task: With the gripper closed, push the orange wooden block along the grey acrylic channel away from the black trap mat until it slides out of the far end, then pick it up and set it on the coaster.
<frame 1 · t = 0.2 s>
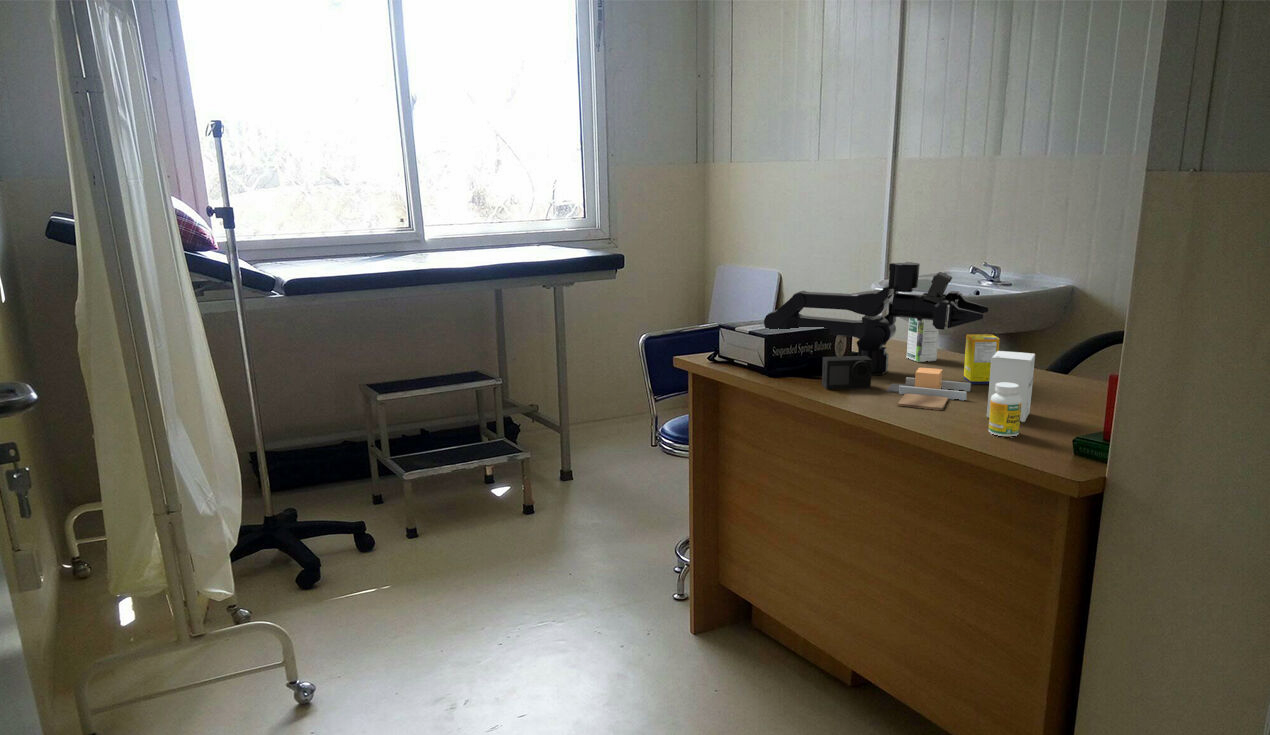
hand: (986, 313, 189), 16 cm above the table, tool horizontal, fingers open, 9 cm apart
coaster: (922, 403, 177), on the table
syrup box: (921, 360, 217), on the table
digital camera: (846, 388, 191), on the table
supplement box: (979, 382, 194), on the table
trap mat: (900, 389, 189), on the table
supplement bottle: (1003, 434, 156), on the table
channel: (934, 392, 185), on the table
block: (927, 392, 186), on the table
supplement box 2: (1008, 416, 167), on the table
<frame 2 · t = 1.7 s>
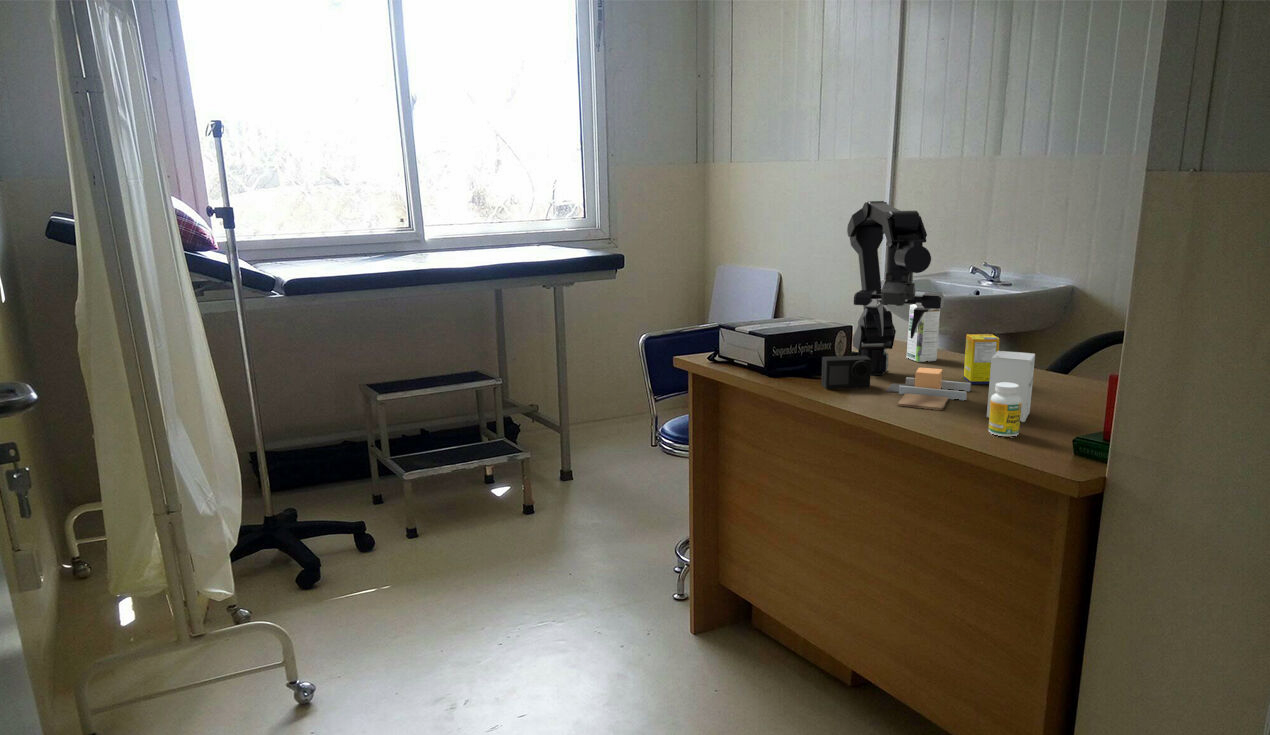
hand: (896, 337, 187), 12 cm above the table, tool pointing down, fingers open, 6 cm apart
nothing on the table moved.
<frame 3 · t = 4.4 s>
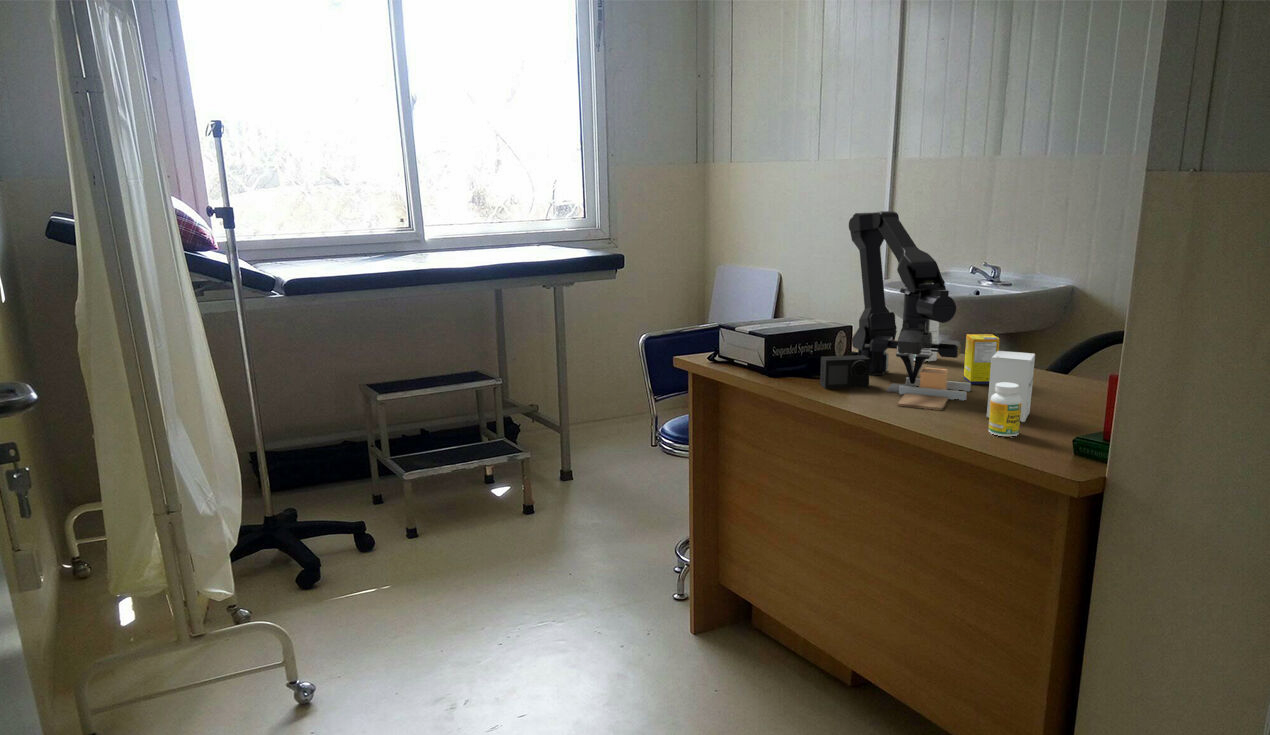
hand: (912, 383, 187), 2 cm above the table, tool pointing down, fingers closed
block: (932, 392, 185), on the table, touching gripper
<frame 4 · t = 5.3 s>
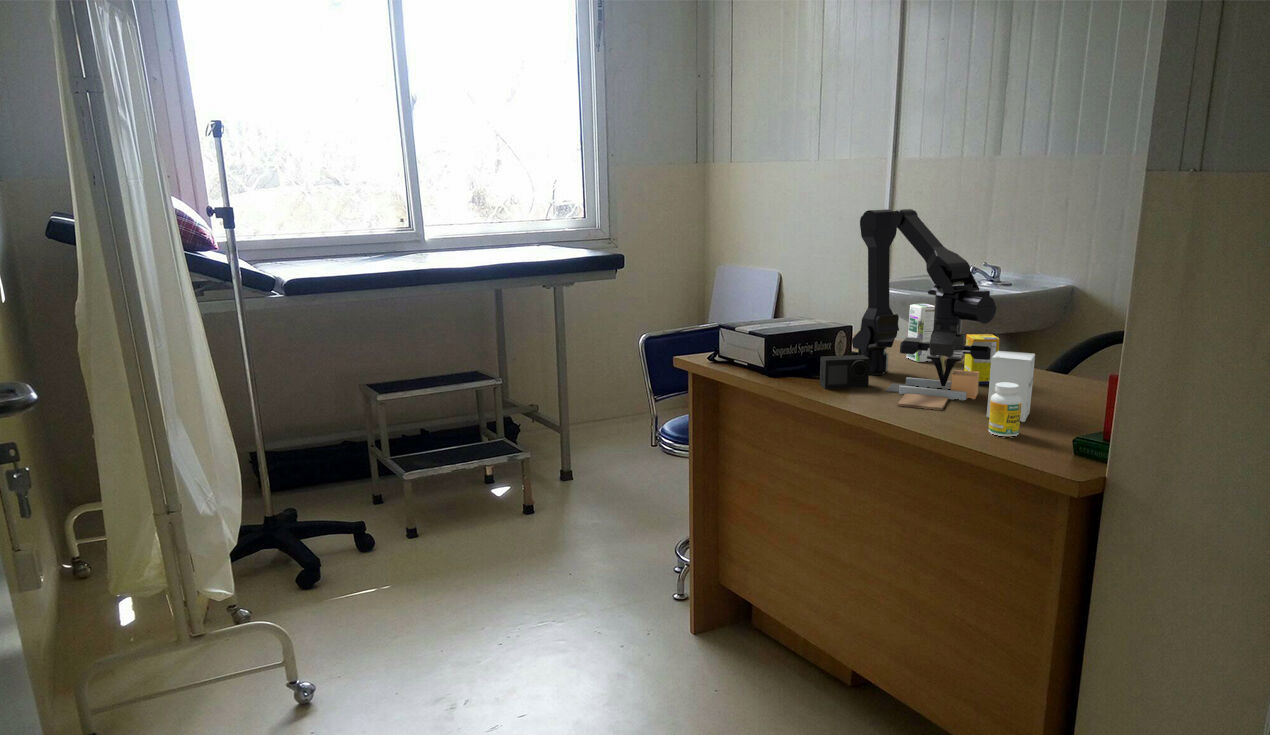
hand: (943, 386, 184), 2 cm above the table, tool pointing down, fingers closed
block: (964, 395, 182), on the table, touching gripper
everything else where it was.
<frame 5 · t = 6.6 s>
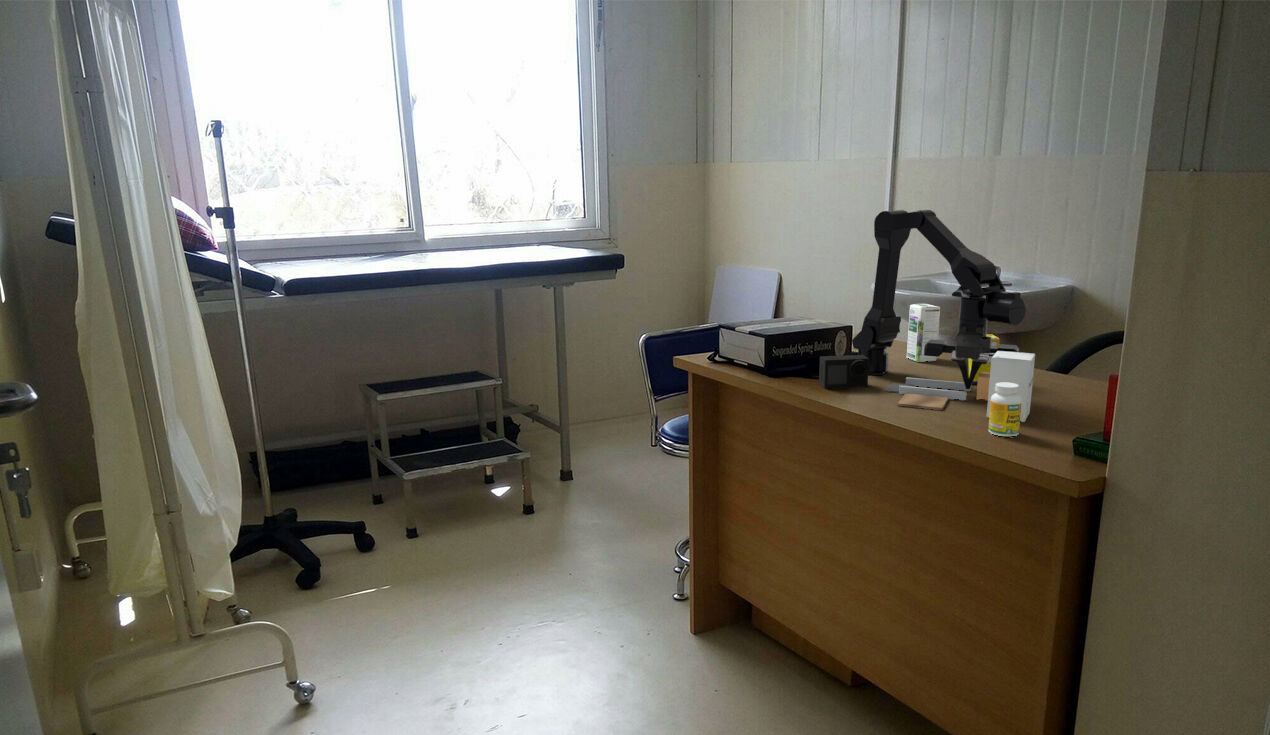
hand: (967, 388, 182), 2 cm above the table, tool pointing down, fingers closed
block: (989, 397, 180), on the table, touching gripper
everything else where it was.
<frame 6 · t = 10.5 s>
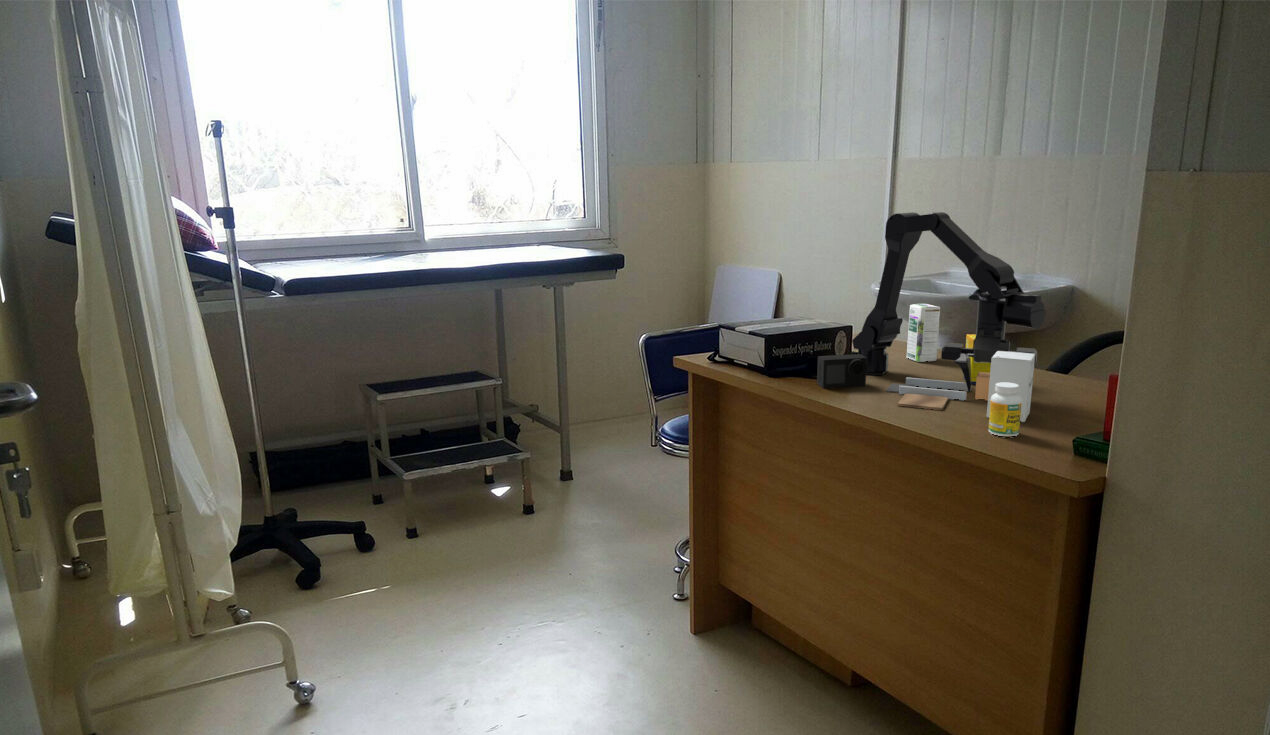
hand: (985, 392, 180), 1 cm above the table, tool pointing down, fingers open, 6 cm apart
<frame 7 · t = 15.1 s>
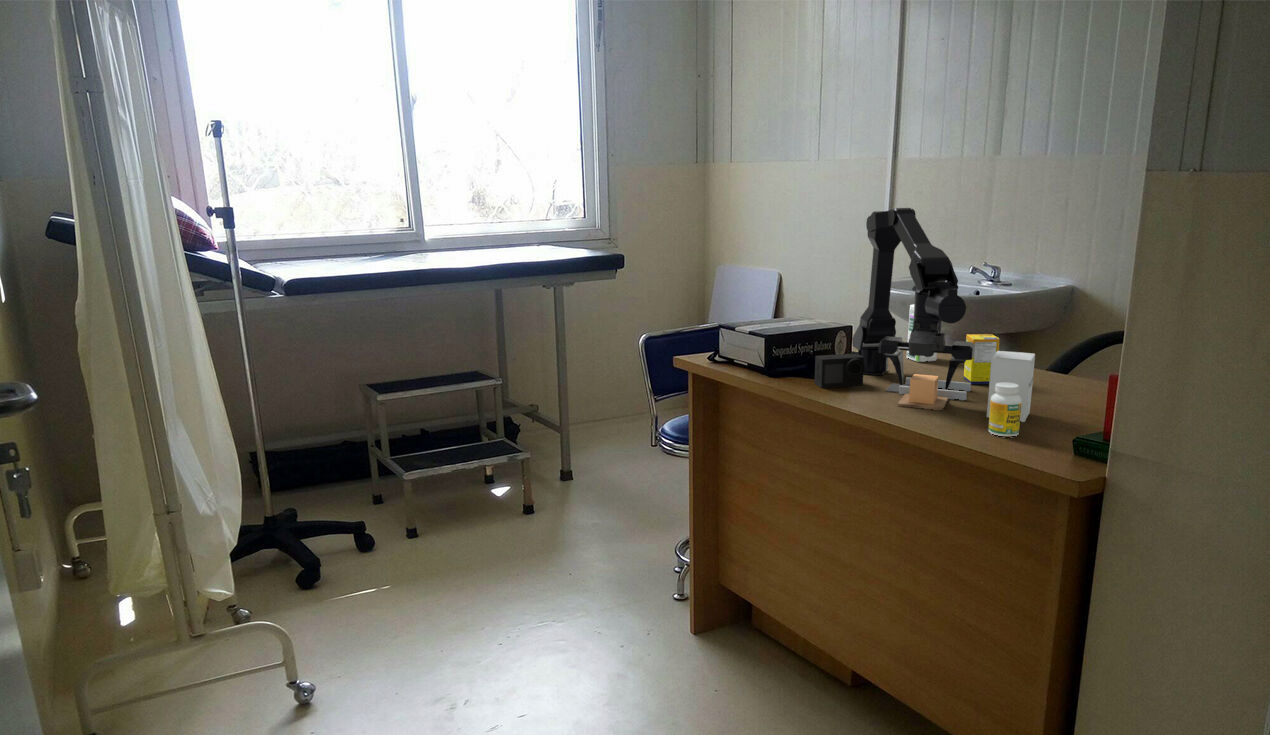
hand: (923, 387, 176), 3 cm above the table, tool pointing down, fingers open, 9 cm apart
block: (923, 400, 177), point 1 cm above the table, touching coaster
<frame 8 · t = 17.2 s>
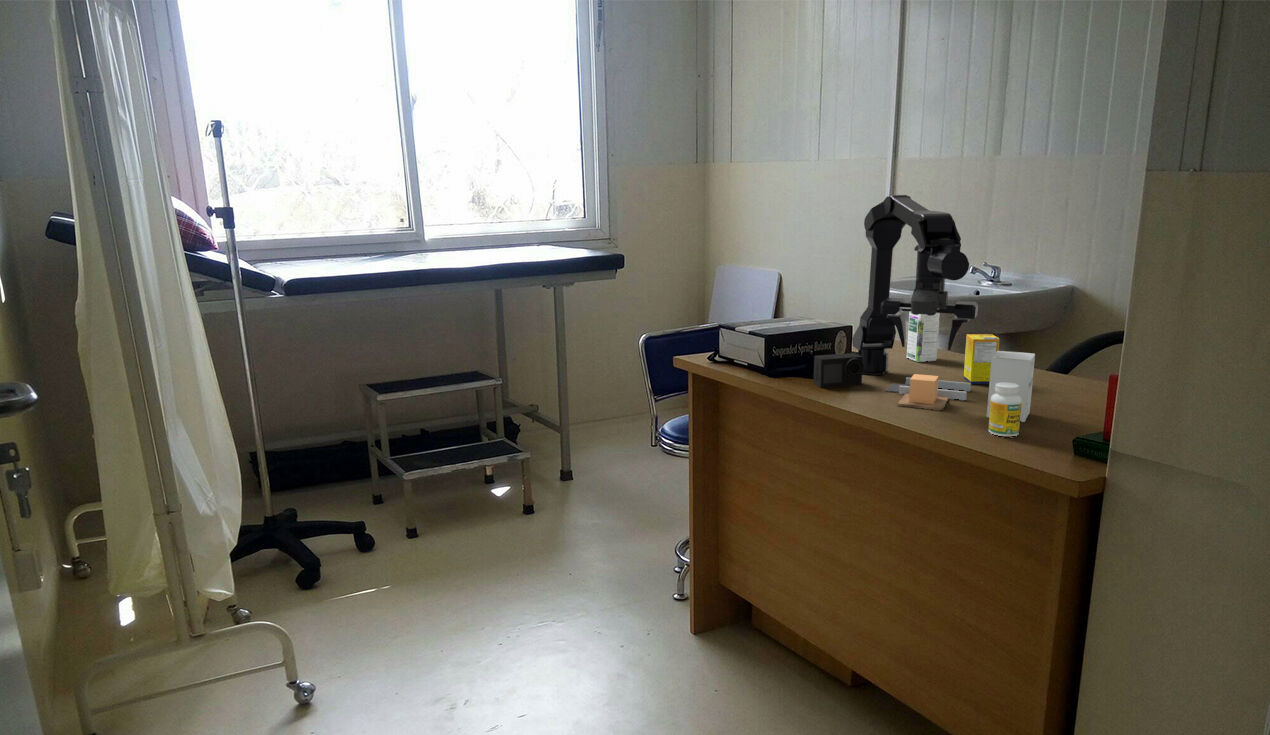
hand: (926, 348, 174), 12 cm above the table, tool pointing down, fingers open, 9 cm apart
at the end: block inside the target area on the coaster (0.1 cm from its centre), point 0.6 cm above the coaster's base; block tilted 0°; the gripper is holding nothing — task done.
